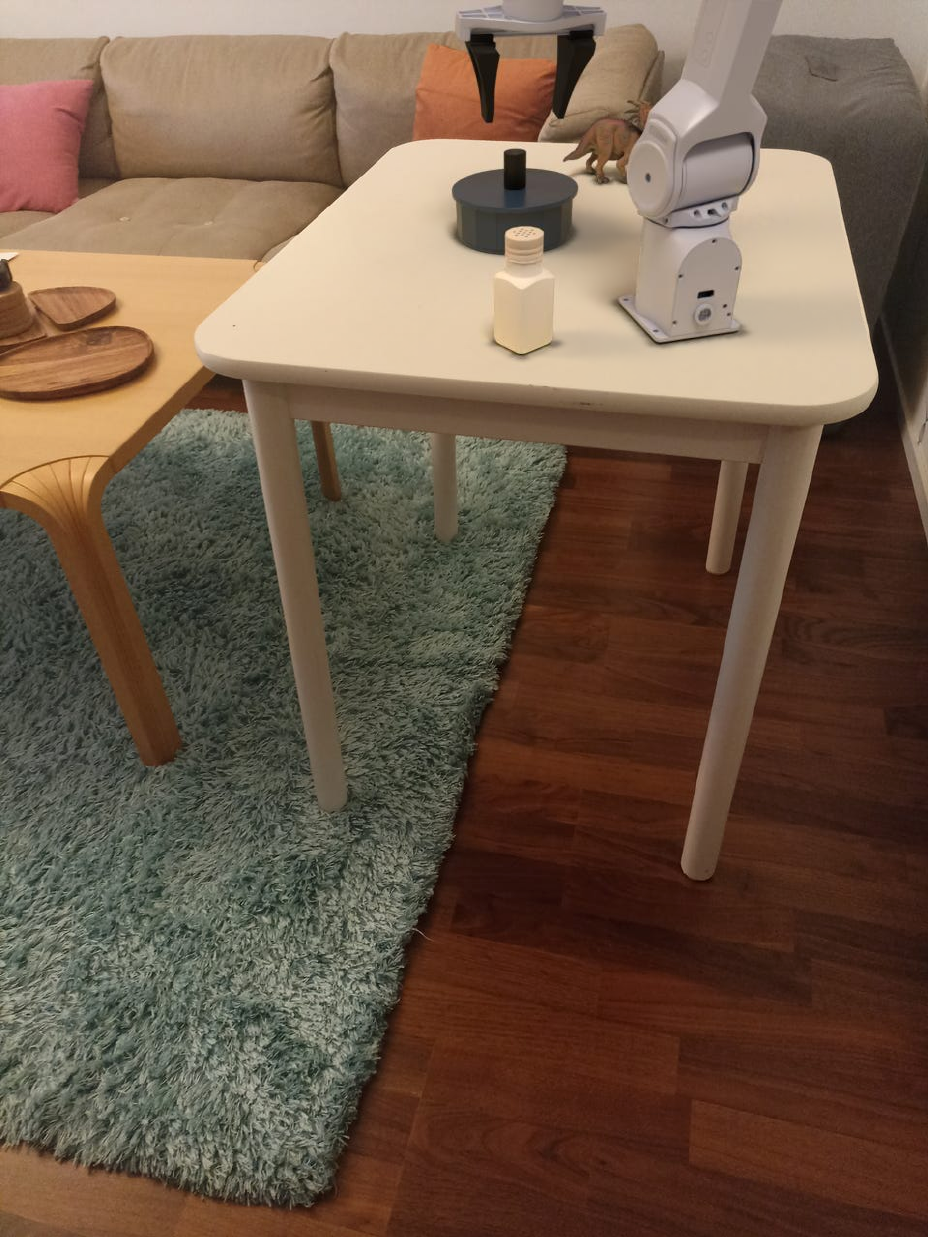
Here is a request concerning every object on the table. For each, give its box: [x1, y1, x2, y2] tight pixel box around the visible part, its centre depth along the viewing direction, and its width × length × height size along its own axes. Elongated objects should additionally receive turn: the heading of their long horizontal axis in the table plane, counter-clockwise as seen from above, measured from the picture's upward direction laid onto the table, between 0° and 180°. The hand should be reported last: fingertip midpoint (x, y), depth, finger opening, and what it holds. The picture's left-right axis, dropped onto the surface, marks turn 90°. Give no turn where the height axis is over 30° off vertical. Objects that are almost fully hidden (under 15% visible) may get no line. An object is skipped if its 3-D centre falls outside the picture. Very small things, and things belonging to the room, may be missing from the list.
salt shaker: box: [493, 227, 555, 355], centre depth 73 cm, size 4×4×10 cm
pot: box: [455, 199, 574, 255], centre depth 95 cm, size 13×13×4 cm
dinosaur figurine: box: [562, 95, 665, 185], centre depth 106 cm, size 14×6×9 cm, turn 82°
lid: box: [451, 147, 579, 213], centre depth 92 cm, size 14×14×5 cm
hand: (522, 116), depth 88 cm, fingers open, 7 cm apart
